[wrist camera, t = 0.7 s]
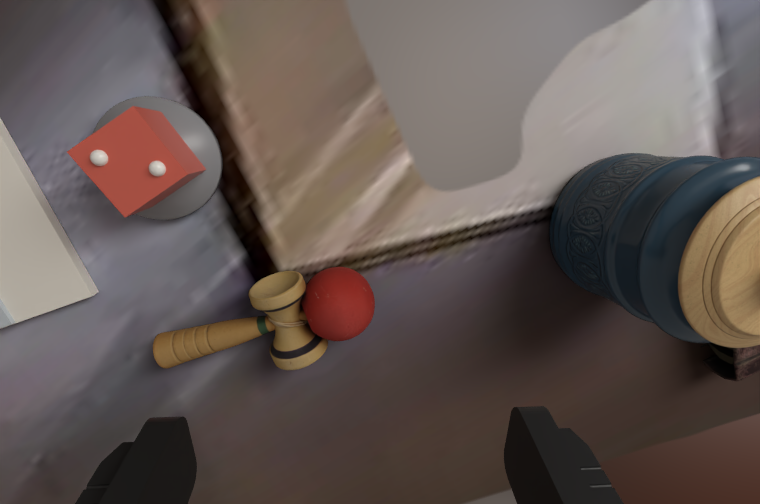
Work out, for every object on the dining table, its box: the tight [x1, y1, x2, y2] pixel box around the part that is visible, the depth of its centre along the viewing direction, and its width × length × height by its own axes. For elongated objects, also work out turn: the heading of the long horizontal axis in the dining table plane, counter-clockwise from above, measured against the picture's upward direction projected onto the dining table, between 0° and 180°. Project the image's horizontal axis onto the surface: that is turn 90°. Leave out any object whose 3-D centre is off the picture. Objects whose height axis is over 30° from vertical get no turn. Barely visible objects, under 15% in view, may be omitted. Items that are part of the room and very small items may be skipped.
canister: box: [549, 153, 760, 348], centre depth 31 cm, size 13×13×18 cm
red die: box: [67, 96, 223, 220], centre depth 29 cm, size 9×9×6 cm
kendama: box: [153, 267, 375, 370], centre depth 35 cm, size 8×6×18 cm
